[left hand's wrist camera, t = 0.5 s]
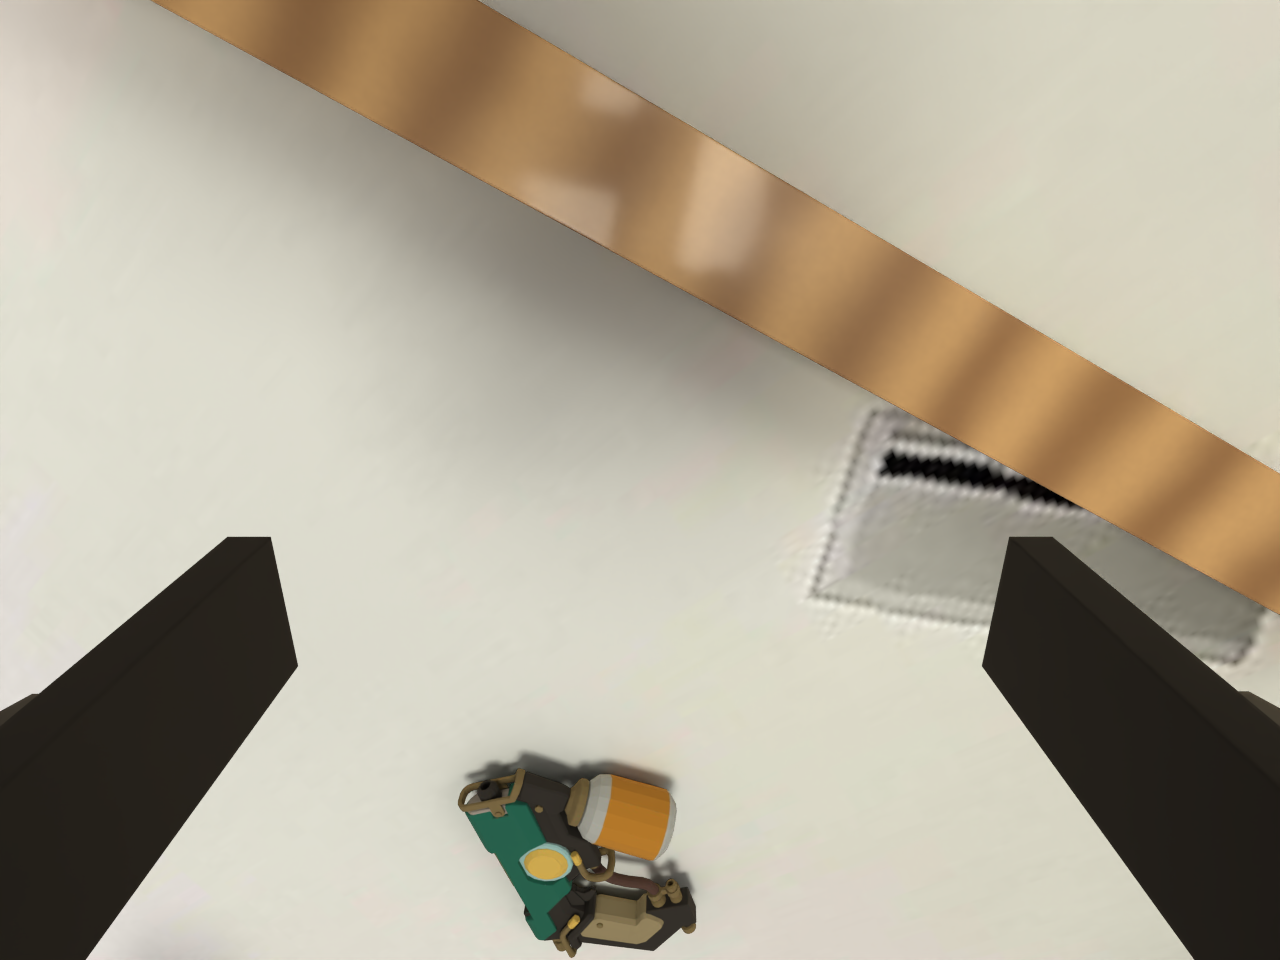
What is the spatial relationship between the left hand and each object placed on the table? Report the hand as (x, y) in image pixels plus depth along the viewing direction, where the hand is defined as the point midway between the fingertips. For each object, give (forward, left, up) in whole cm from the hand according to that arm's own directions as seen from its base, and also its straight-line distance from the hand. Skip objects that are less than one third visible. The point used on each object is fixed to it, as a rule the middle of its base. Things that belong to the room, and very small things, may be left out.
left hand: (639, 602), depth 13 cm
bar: (-4, +9, -26) cm, 27 cm away
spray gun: (+35, +2, -26) cm, 43 cm away
